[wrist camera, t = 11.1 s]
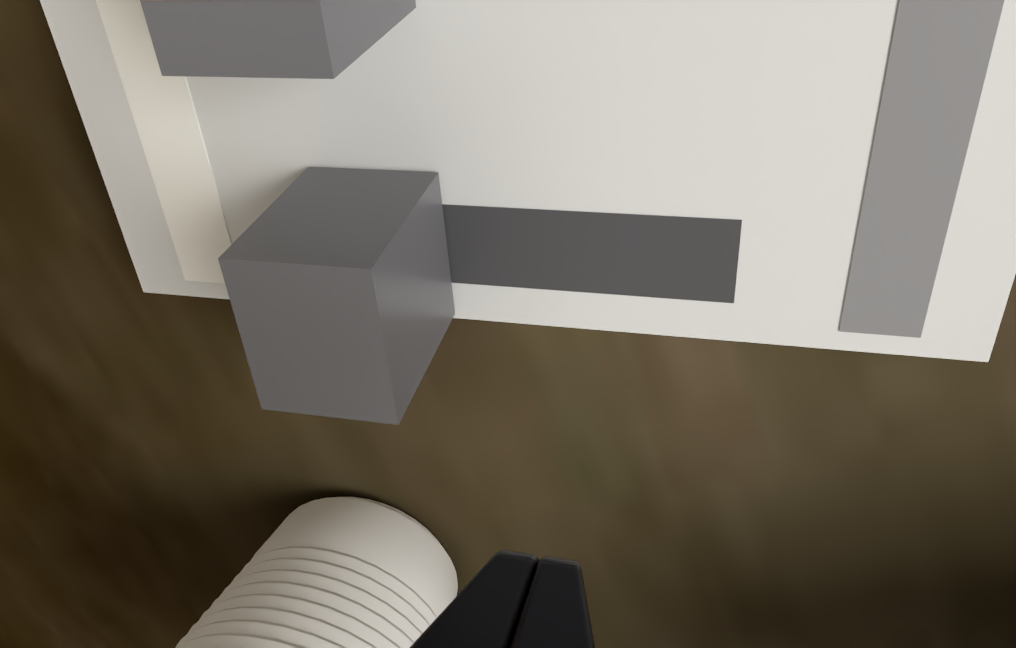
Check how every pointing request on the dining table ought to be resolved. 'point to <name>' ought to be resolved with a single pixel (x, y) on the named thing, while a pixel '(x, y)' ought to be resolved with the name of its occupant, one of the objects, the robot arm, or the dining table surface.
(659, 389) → the dining table surface
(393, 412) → the block
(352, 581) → the cup
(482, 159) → the panel
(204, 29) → the block
